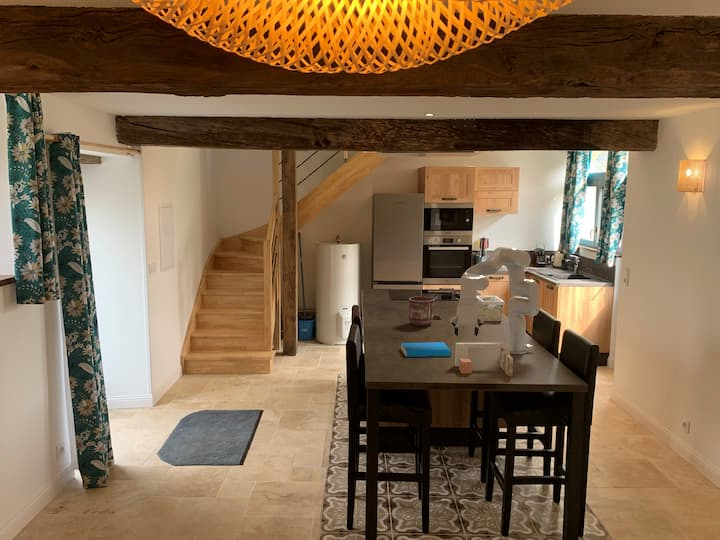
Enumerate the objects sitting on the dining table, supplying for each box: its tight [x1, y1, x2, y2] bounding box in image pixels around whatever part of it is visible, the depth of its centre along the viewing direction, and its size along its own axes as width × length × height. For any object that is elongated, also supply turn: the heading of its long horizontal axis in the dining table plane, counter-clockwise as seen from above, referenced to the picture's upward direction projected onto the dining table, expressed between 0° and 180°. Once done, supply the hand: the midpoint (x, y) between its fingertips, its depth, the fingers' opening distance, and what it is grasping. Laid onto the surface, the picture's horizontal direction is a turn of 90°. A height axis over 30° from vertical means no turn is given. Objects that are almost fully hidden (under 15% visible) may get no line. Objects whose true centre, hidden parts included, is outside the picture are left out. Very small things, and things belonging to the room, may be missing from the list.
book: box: [400, 341, 452, 358], centre depth 325 cm, size 17×4×25 cm
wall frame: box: [454, 342, 511, 367], centre depth 300 cm, size 28×2×12 cm, turn 92°
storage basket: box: [476, 295, 505, 322], centre depth 414 cm, size 24×16×15 cm
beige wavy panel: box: [499, 348, 514, 377], centre depth 291 cm, size 18×2×10 cm, turn 2°
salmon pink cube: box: [458, 358, 473, 375], centre depth 290 cm, size 5×6×6 cm
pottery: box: [408, 296, 436, 328], centre depth 391 cm, size 18×18×18 cm
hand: (466, 335), depth 288 cm, fingers open, 9 cm apart
